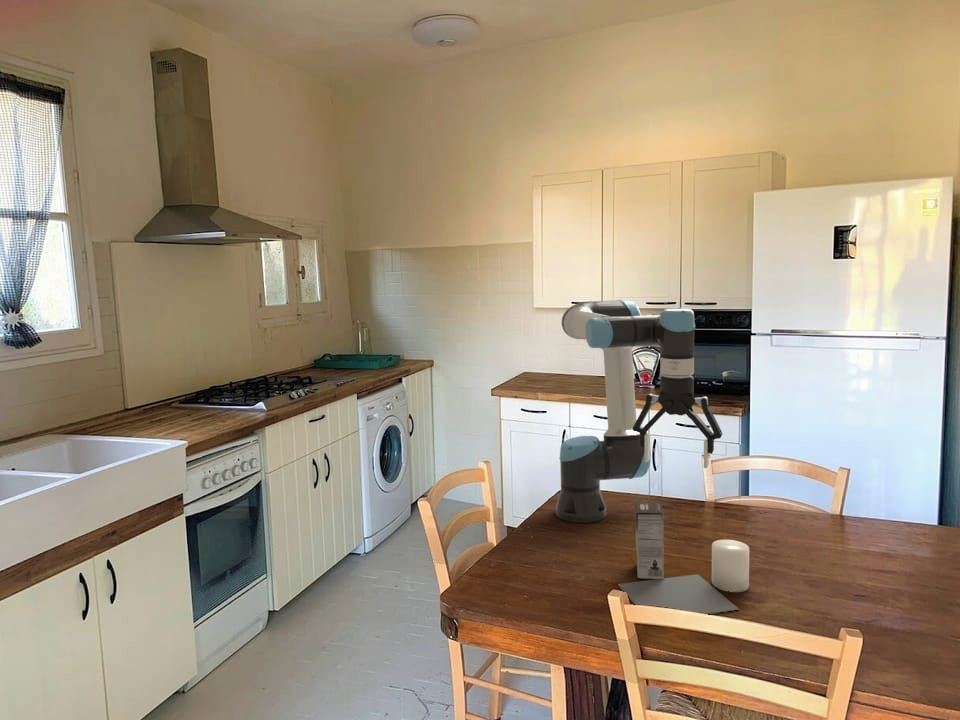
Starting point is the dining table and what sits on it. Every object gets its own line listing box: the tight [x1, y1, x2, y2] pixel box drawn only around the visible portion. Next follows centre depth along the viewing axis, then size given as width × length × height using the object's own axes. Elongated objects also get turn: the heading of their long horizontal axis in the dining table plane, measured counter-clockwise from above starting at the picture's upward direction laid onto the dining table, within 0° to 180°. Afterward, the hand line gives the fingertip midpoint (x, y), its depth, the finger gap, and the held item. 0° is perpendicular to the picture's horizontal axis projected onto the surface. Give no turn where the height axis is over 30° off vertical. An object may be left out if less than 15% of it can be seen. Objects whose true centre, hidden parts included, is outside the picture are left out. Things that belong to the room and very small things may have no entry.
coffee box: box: [634, 501, 665, 580], centre depth 156 cm, size 9×6×16 cm
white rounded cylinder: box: [711, 539, 750, 593], centre depth 149 cm, size 8×8×9 cm
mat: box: [617, 573, 739, 615], centre depth 144 cm, size 17×20×1 cm
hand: (676, 463), depth 154 cm, fingers open, 13 cm apart
